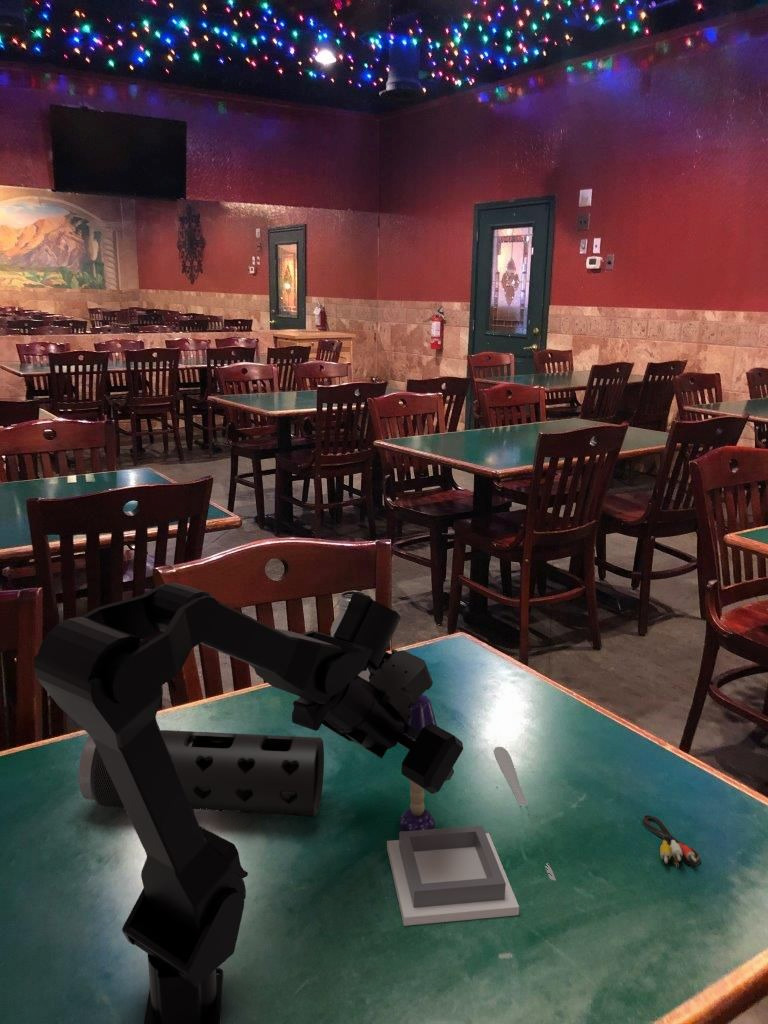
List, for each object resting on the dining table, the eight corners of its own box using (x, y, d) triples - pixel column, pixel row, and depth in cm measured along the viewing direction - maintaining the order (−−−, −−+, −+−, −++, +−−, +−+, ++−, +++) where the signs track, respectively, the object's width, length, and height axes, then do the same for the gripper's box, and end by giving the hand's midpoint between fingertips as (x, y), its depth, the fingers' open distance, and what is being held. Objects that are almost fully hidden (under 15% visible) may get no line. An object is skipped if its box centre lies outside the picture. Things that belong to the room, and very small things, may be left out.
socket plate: (518, 915, 85) (520, 890, 84) (403, 925, 84) (404, 900, 83) (488, 840, 97) (489, 818, 96) (386, 848, 95) (387, 825, 94)
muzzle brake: (313, 841, 96) (312, 763, 94) (79, 828, 98) (71, 751, 95) (324, 793, 105) (324, 720, 103) (110, 782, 107) (104, 710, 104)
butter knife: (512, 745, 116) (491, 745, 116) (571, 880, 90) (545, 880, 90) (512, 749, 116) (491, 748, 116) (570, 884, 91) (544, 884, 90)
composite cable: (637, 820, 101) (639, 802, 101) (676, 821, 101) (679, 803, 101) (663, 876, 92) (665, 856, 91) (706, 876, 92) (709, 857, 91)
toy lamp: (390, 832, 98) (392, 704, 94) (401, 809, 102) (403, 686, 98) (429, 840, 97) (434, 711, 92) (439, 816, 101) (443, 692, 96)
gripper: (454, 669, 83) (518, 730, 93) (337, 615, 97) (404, 673, 107) (395, 767, 80) (468, 819, 90) (283, 697, 94) (357, 749, 104)
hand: (422, 758), depth 98 cm, fingers open, 9 cm apart
